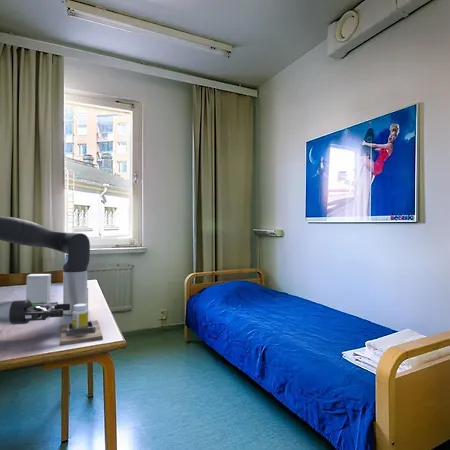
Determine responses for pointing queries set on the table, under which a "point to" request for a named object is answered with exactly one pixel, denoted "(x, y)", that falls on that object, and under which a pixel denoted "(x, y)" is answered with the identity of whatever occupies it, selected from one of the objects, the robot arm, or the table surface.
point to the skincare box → (38, 288)
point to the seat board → (80, 333)
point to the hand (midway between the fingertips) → (66, 309)
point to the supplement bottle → (80, 316)
